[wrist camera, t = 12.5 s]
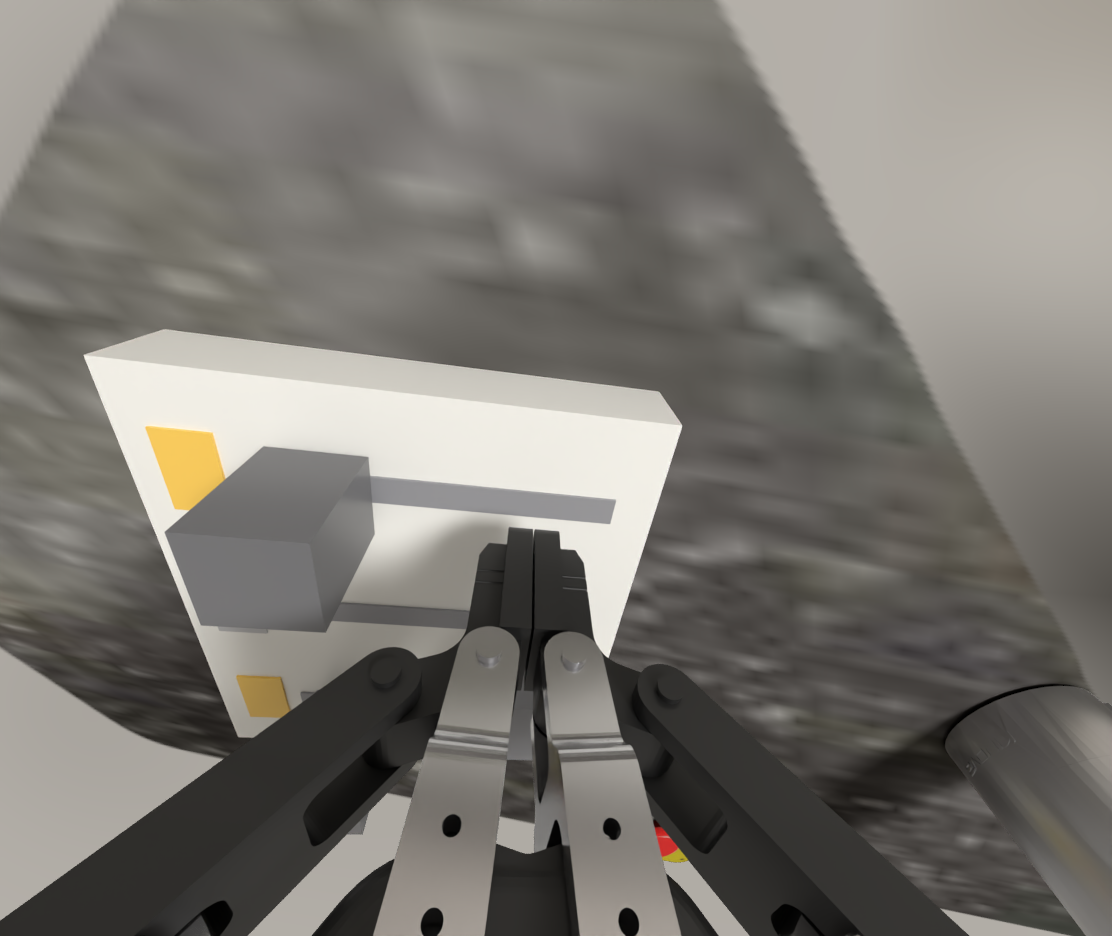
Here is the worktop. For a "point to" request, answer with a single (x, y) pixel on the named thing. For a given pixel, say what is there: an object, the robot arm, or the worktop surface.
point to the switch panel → (389, 484)
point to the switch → (277, 540)
